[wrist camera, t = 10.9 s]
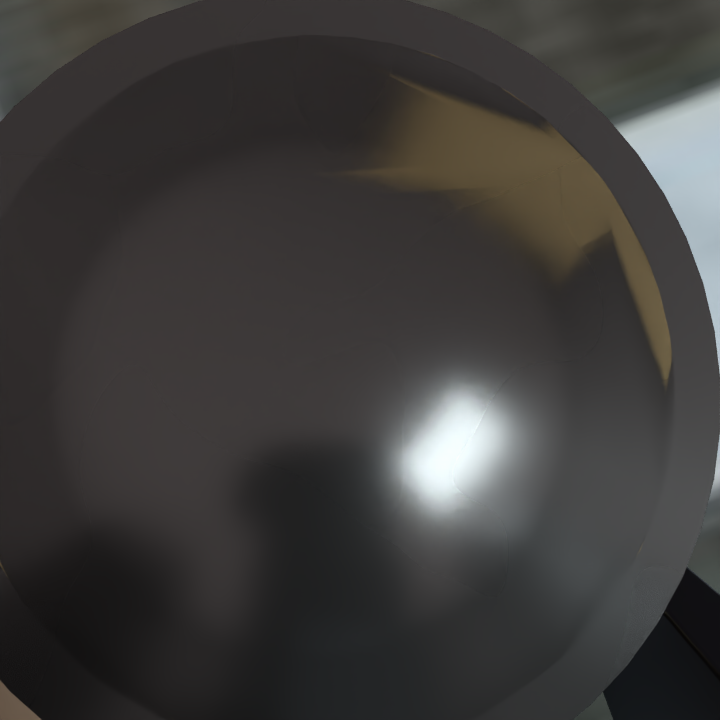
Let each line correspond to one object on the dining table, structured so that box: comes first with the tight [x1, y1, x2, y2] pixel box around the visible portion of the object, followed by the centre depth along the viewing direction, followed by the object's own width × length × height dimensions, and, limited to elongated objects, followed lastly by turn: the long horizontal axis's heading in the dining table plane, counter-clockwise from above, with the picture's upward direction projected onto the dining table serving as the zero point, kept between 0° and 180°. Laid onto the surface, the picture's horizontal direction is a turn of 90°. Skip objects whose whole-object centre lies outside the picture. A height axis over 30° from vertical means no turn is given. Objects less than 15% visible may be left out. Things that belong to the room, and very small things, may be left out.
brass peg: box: [0, 0, 720, 720], centre depth 10 cm, size 5×5×14 cm
